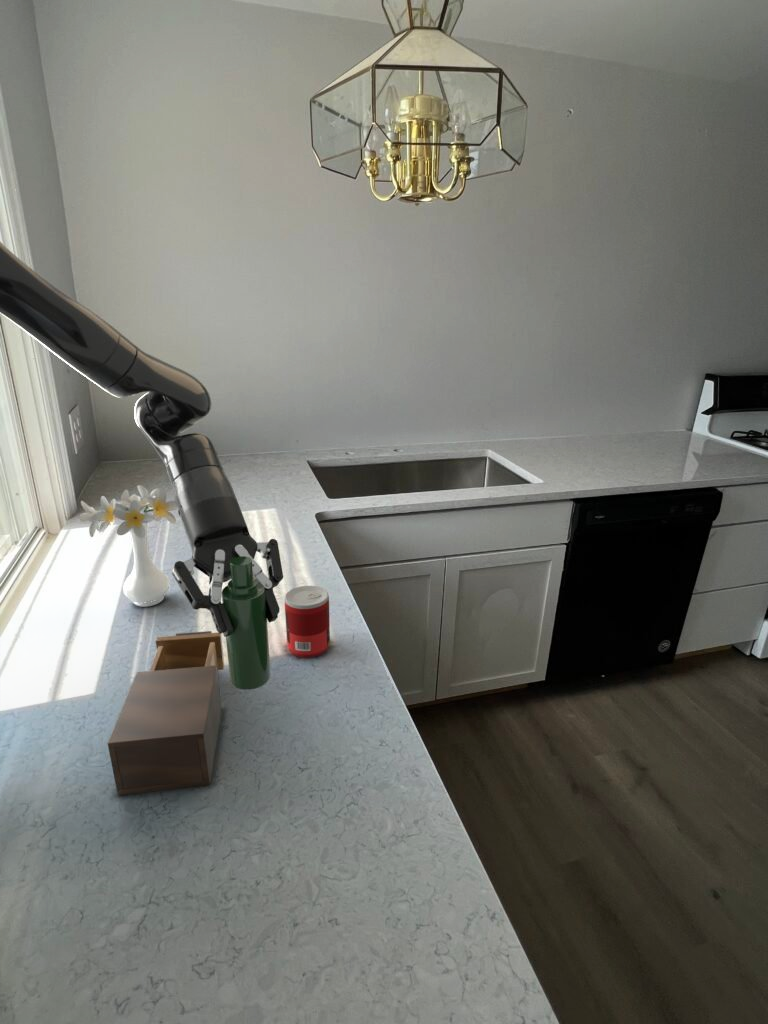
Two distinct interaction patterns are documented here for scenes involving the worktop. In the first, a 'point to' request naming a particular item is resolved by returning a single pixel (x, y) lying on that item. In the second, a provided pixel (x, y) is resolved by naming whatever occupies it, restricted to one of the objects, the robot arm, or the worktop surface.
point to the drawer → (188, 651)
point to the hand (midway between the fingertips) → (251, 626)
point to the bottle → (246, 627)
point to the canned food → (307, 621)
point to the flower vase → (136, 539)
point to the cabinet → (167, 730)
